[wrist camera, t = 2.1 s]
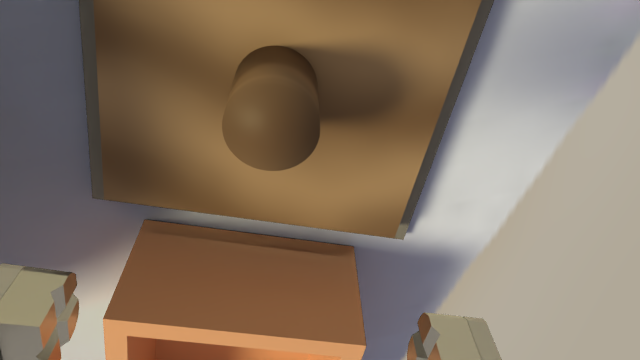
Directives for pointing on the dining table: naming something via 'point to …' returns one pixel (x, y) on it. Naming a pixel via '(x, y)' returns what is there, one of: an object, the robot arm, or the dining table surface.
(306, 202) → the walnut lid
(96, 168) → the rubber mat
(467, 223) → the dining table surface
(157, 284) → the terracotta open box
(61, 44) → the dining table surface
